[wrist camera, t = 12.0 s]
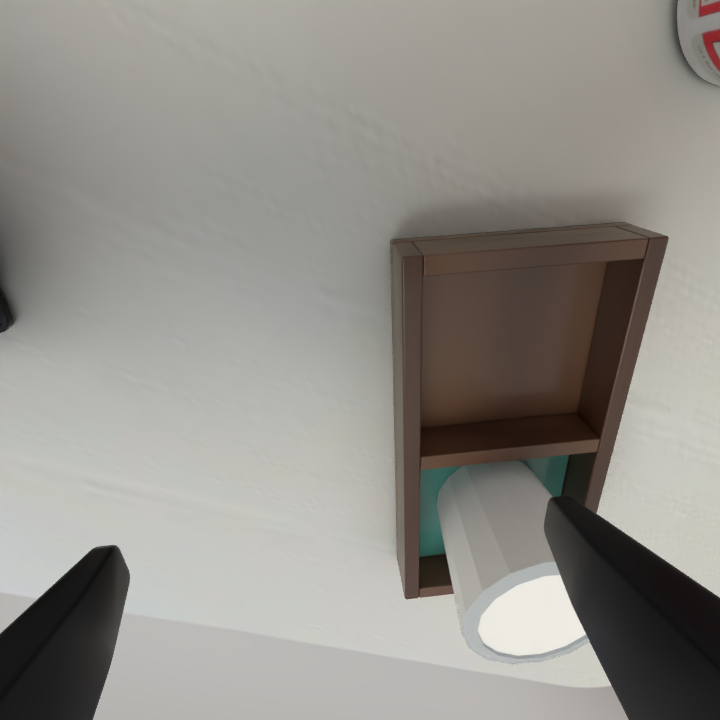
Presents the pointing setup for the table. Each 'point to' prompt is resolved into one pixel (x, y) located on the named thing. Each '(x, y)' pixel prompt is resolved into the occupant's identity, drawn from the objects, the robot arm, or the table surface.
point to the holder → (511, 365)
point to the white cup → (505, 565)
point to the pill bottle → (700, 36)
